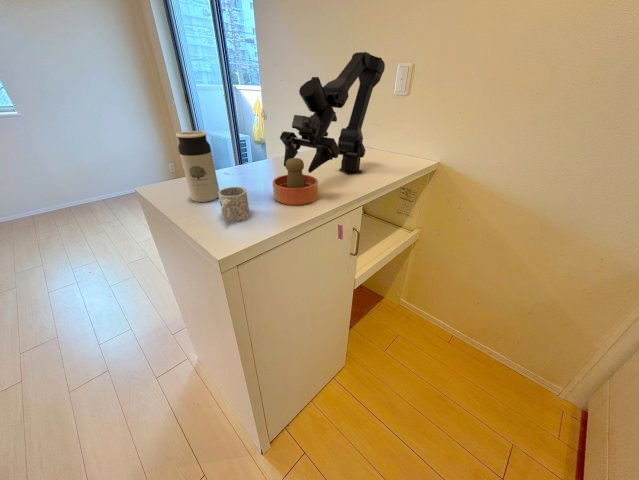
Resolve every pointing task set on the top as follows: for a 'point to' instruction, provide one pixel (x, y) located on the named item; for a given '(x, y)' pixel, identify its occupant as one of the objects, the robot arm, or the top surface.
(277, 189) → the orange brown bowl
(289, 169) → the cork
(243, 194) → the mug
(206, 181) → the travel mug
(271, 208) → the top surface
